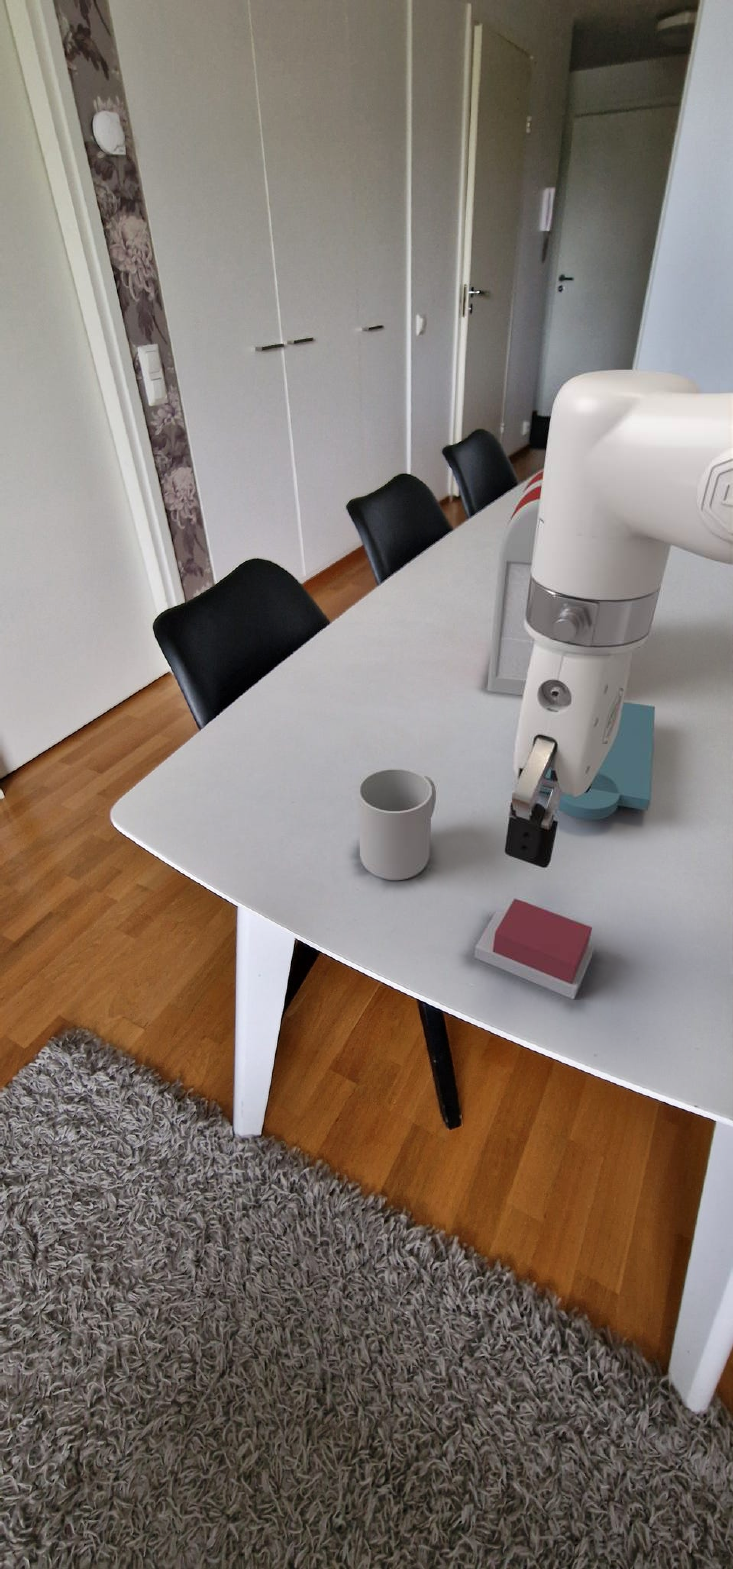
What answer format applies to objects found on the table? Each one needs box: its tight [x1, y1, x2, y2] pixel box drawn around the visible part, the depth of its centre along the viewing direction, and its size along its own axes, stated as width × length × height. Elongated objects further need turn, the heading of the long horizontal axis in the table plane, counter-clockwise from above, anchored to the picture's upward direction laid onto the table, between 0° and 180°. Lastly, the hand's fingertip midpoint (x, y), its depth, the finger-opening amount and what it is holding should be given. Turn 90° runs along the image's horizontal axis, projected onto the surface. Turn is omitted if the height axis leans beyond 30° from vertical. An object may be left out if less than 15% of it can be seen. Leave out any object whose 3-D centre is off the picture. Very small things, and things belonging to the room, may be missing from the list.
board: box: [539, 701, 656, 821], centre depth 83 cm, size 24×13×4 cm, turn 161°
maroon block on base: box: [474, 898, 594, 1000], centre depth 61 cm, size 9×5×4 cm, turn 60°
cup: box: [356, 767, 437, 881], centre depth 71 cm, size 7×10×9 cm
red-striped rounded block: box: [486, 469, 544, 697], centre depth 97 cm, size 16×18×27 cm
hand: (549, 820), depth 53 cm, fingers open, 9 cm apart
